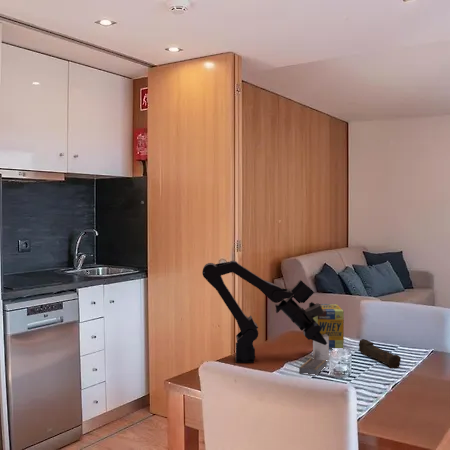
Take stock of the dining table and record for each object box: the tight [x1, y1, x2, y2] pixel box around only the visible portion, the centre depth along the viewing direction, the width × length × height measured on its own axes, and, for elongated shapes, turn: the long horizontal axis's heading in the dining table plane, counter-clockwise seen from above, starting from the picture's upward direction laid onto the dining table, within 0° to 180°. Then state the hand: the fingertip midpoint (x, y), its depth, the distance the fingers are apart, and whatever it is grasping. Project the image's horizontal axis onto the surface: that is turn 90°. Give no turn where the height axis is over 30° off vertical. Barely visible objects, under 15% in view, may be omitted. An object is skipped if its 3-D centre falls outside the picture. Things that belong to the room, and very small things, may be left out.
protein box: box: [313, 303, 345, 349], centre depth 213 cm, size 10×15×16 cm
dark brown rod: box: [358, 338, 402, 369], centre depth 193 cm, size 23×5×6 cm, turn 15°
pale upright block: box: [312, 334, 330, 361], centre depth 192 cm, size 4×5×9 cm
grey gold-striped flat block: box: [298, 357, 328, 376], centre depth 180 cm, size 12×6×2 cm, turn 153°
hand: (324, 342), depth 192 cm, fingers open, 5 cm apart
